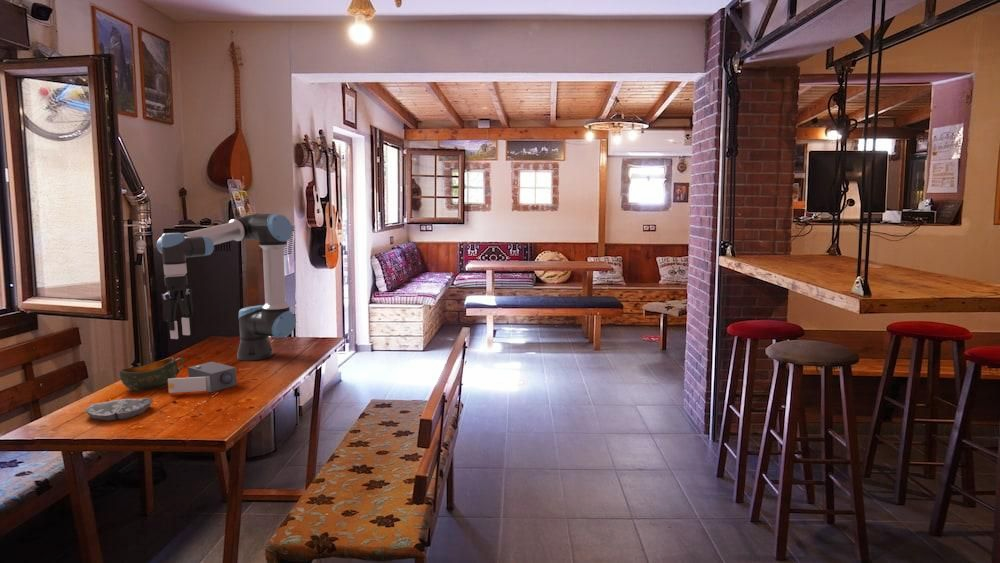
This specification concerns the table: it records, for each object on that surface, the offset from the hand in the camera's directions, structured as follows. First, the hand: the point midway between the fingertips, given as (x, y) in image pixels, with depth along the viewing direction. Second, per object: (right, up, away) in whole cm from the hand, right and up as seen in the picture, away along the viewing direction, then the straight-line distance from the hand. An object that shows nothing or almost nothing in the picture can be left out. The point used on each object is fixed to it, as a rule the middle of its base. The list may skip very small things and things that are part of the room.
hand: (180, 336), depth 234 cm
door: (+4, -21, -1) cm, 21 cm away
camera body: (+8, -20, +10) cm, 23 cm away
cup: (-14, -20, +8) cm, 26 cm away
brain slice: (-9, -25, -22) cm, 34 cm away
